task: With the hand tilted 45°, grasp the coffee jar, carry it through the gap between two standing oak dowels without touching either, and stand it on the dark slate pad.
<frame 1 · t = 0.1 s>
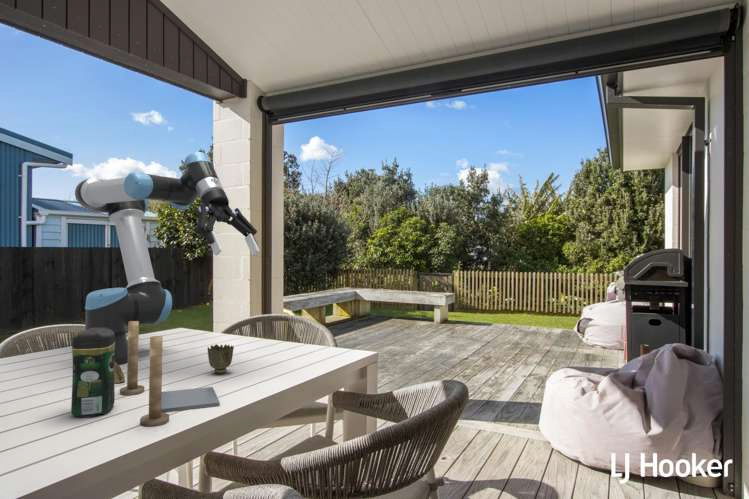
hand: (238, 253, 138), 36 cm above the table, tool tilted 35°, fingers open, 13 cm apart
dowel a: (132, 392, 122), on the table
cup: (220, 374, 141), on the table
rock: (102, 385, 128), on the table
dowel b: (154, 421, 101), on the table
coffee jar: (92, 412, 107), on the table
slate pad: (187, 400, 116), on the table
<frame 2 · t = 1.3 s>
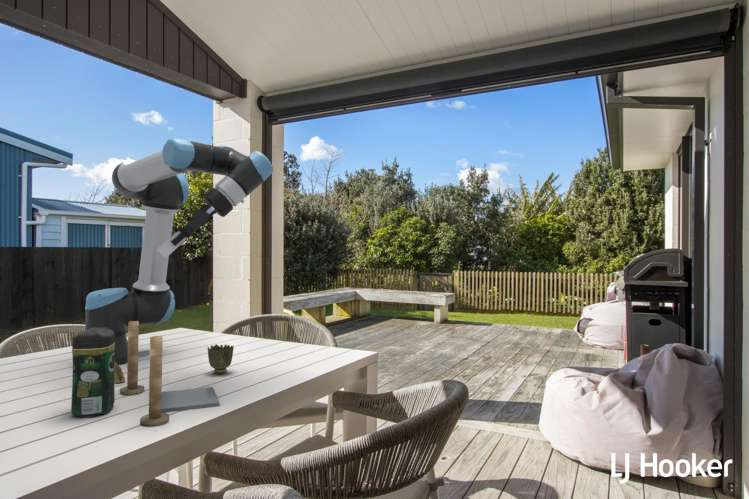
hand: (160, 253, 119), 35 cm above the table, tool tilted 45°, fingers open, 13 cm apart
nothing on the table moved.
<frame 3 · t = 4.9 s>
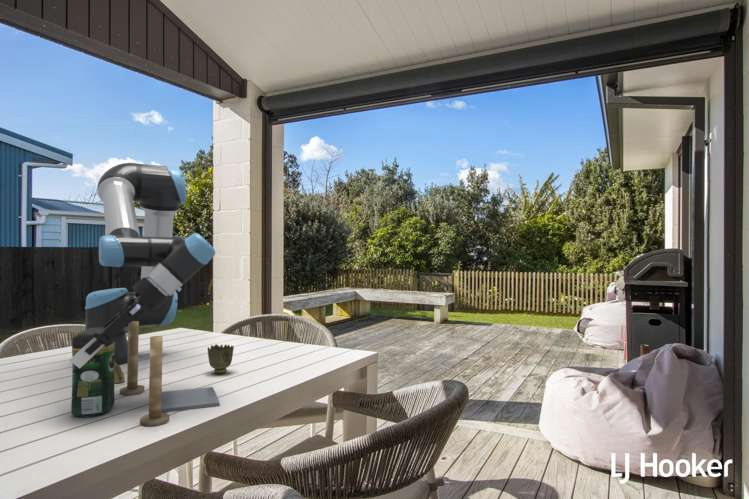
hand: (77, 358, 106), 12 cm above the table, tool tilted 45°, fingers closed on coffee jar, 10 cm apart
coffee jar: (92, 411, 107), on the table, touching gripper
everything else where it was.
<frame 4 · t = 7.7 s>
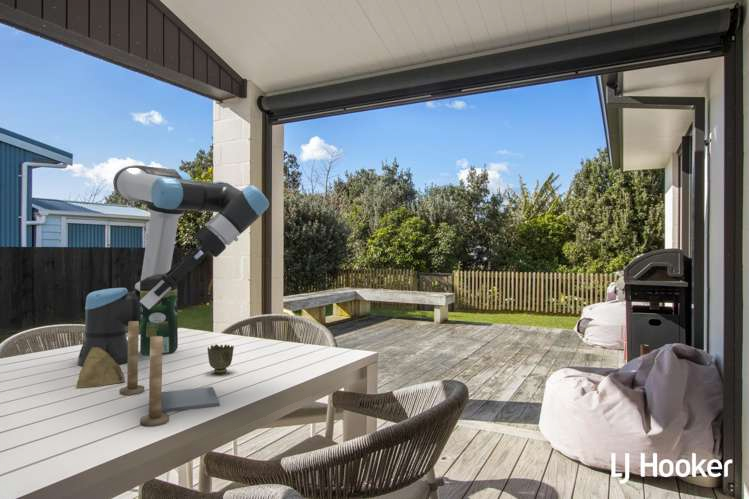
hand: (144, 302, 111), 24 cm above the table, tool tilted 45°, fingers closed on coffee jar, 10 cm apart
coffee jar: (159, 353, 112), point 12 cm above the table, touching gripper
everything else where it was.
when the fingers open (14 cm above the table, at t = 10.8 s): coffee jar drops 1 cm, resting on slate pad.
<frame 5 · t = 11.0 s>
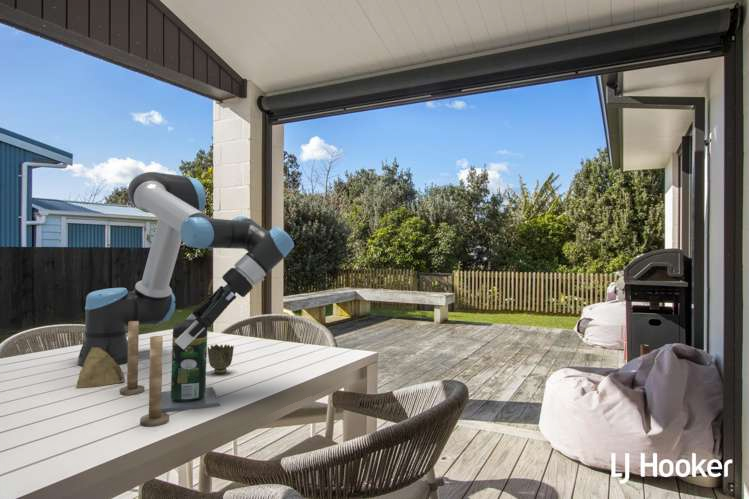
hand: (177, 340, 115), 15 cm above the table, tool tilted 45°, fingers open, 12 cm apart
coffee jar: (187, 397, 116), point 1 cm above the table, touching slate pad
everything else where it was.
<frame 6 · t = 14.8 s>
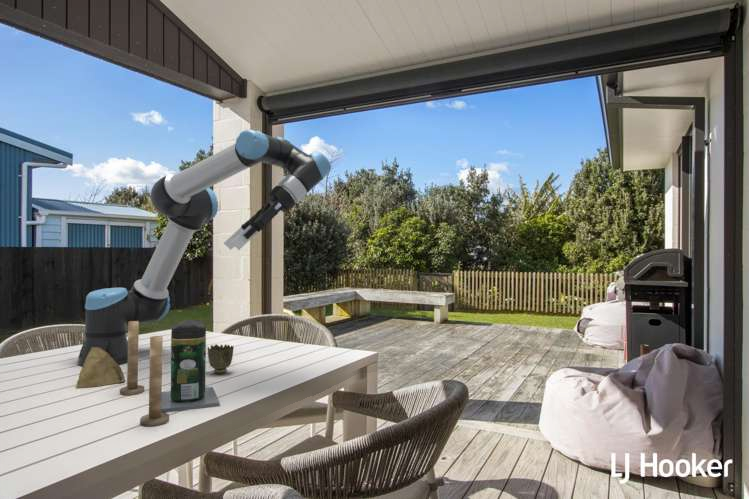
hand: (230, 246, 128), 38 cm above the table, tool tilted 45°, fingers open, 13 cm apart
nothing on the table moved.
at the end: coffee jar inside the target area on the slate pad (0.1 cm from its centre), point 0.6 cm above the slate pad's base; dowel a tilted 0°; dowel b tilted 0° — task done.
